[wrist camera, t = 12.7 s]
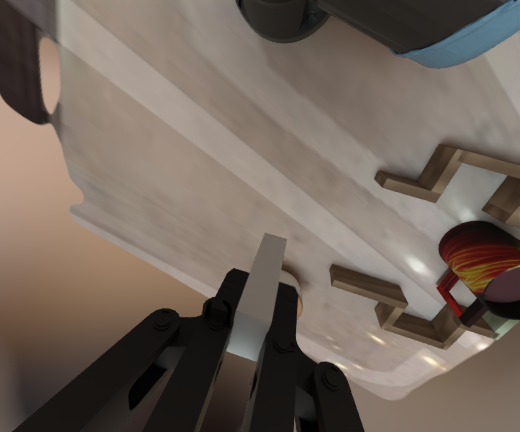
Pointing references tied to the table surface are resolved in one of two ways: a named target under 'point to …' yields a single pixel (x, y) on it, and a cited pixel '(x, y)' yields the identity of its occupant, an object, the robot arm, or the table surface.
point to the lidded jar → (291, 280)
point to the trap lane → (430, 189)
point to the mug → (482, 270)
